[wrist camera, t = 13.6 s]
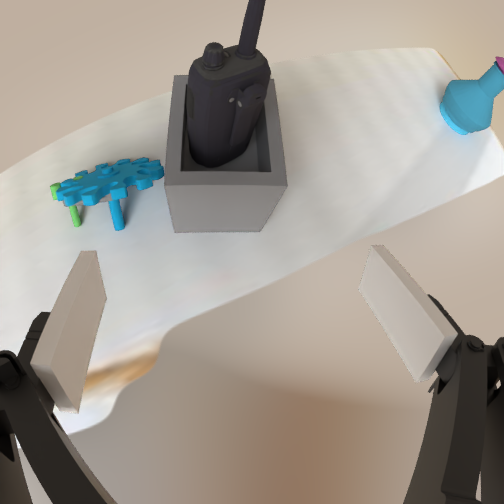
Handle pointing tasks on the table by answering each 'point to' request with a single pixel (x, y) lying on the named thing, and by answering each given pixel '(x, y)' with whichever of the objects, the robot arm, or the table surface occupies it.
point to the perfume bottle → (472, 100)
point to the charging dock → (224, 174)
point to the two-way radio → (227, 94)
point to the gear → (107, 186)
